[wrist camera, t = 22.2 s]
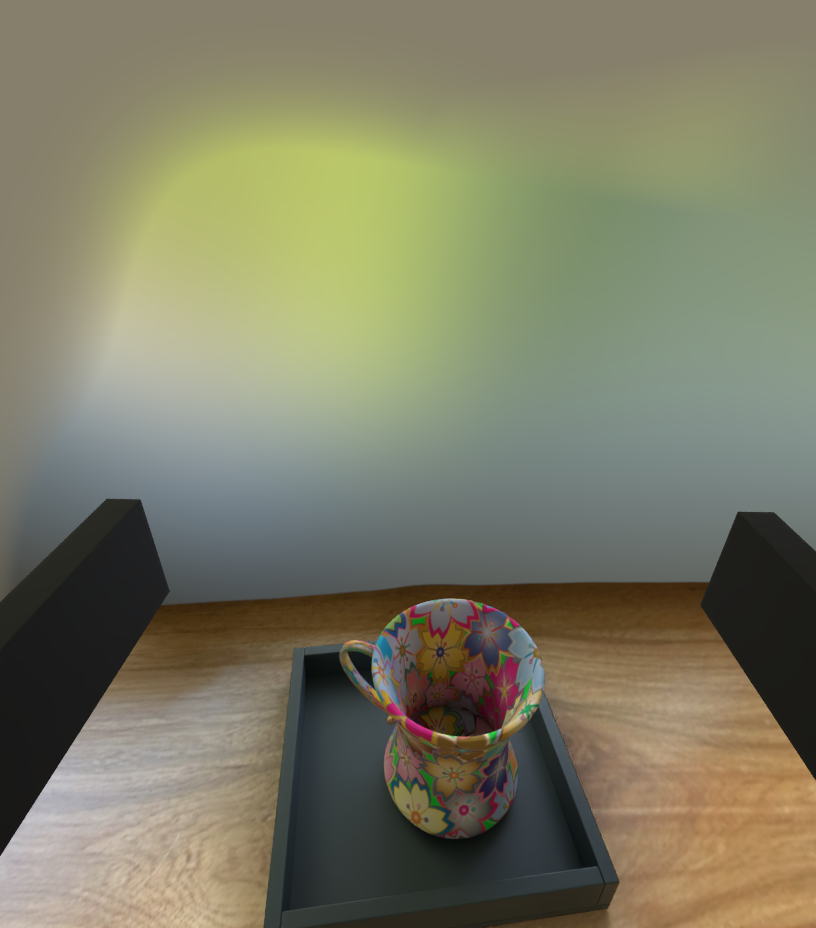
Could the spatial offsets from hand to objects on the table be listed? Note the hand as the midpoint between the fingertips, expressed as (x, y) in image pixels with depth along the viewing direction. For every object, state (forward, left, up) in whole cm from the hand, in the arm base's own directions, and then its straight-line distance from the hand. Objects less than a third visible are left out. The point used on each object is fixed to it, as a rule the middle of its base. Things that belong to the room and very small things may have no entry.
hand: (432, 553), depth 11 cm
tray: (-5, +8, -26) cm, 28 cm away
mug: (-5, +9, -26) cm, 28 cm away
